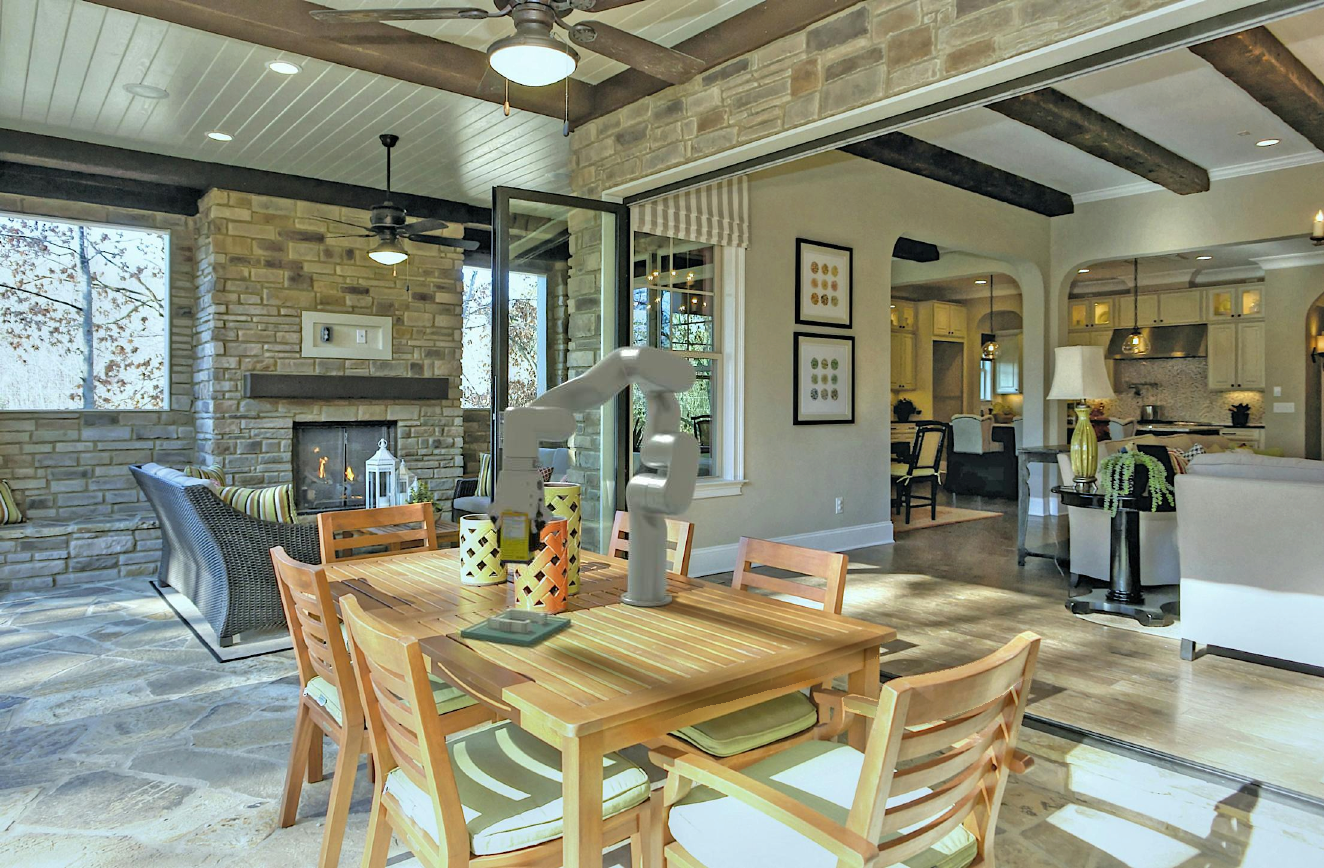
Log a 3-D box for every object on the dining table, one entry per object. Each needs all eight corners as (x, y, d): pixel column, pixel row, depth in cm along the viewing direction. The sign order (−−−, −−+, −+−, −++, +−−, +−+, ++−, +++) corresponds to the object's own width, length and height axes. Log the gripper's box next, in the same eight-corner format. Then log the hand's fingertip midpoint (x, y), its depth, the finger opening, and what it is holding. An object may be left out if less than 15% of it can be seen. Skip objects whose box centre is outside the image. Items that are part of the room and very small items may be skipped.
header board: (507, 615, 181) (508, 601, 181) (570, 624, 176) (571, 609, 176) (460, 636, 165) (460, 621, 164) (528, 646, 159) (528, 631, 159)
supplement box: (534, 559, 172) (536, 509, 172) (527, 565, 166) (529, 512, 166) (507, 558, 173) (509, 507, 172) (499, 563, 167) (501, 511, 166)
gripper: (565, 466, 169) (562, 550, 170) (494, 462, 175) (492, 543, 176) (547, 468, 162) (545, 556, 163) (475, 463, 168) (472, 548, 169)
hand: (518, 548), depth 169 cm, fingers closed on supplement box, 7 cm apart
